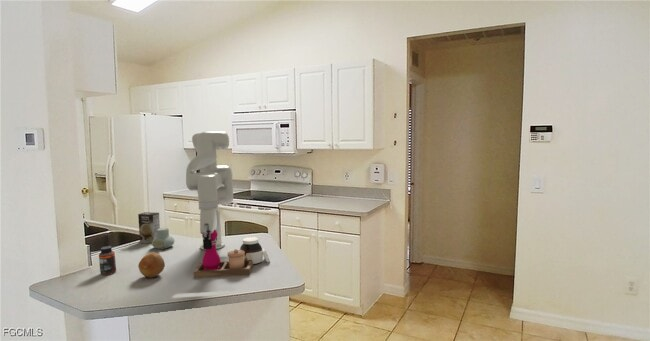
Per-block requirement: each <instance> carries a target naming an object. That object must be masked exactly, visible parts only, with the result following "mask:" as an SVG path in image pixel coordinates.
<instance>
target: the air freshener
mask: <svg viewBox="0 0 650 341" xmlns="http://www.w3.org/2000/svg"><path fill="white" fill-rule="evenodd" d="M169 229H170V228H168V227H160V228H159V229H157V237H156V238H155V239H154V240H153V241H152V243H151V246H152V247H153V248H155V249H157V250H165V249H167V248H170V247H172V246H173V245H174V243H175V238H174V237H173V236H171V235H170V230H169Z"/></svg>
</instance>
